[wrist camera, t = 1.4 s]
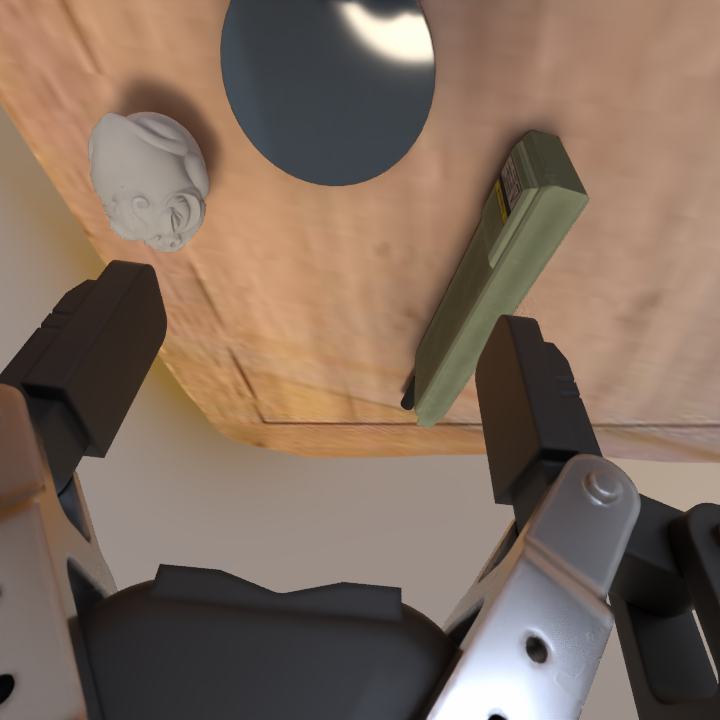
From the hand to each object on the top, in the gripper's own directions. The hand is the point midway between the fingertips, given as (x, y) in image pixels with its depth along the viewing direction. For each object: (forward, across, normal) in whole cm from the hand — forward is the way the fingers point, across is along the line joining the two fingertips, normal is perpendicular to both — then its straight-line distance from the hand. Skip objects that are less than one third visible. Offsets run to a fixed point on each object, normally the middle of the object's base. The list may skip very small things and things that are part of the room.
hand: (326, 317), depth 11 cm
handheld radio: (+19, -9, +13) cm, 25 cm away
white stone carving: (+19, +11, +5) cm, 22 cm away
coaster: (+19, +2, 0) cm, 19 cm away
